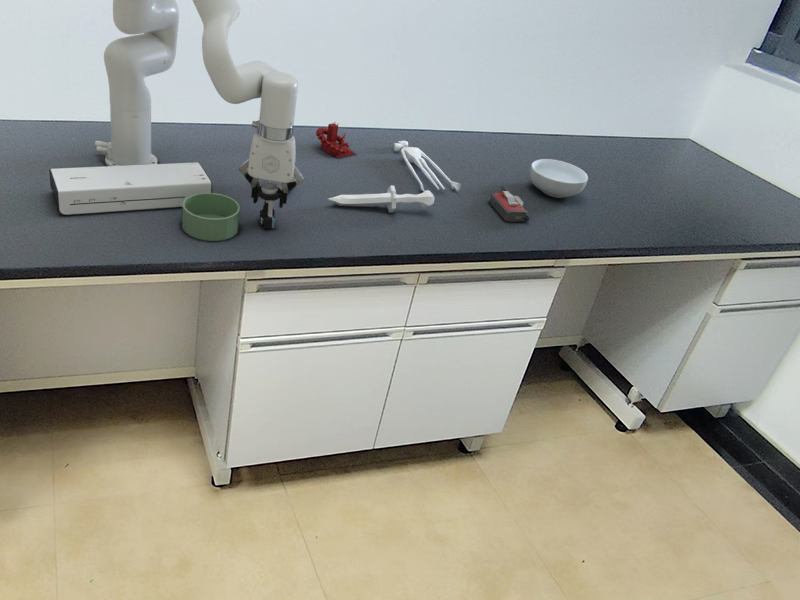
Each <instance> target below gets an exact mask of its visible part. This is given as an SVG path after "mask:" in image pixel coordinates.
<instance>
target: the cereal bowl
mask: <svg viewBox="0 0 800 600" xmlns="http://www.w3.org/2000/svg"><path fill="white" fill-rule="evenodd" d="M529 178H530V181H531V182H532V184H533V186H534V187H536V188H537V189H538V190H540V191H541V193H543V194H544V195H546V196H549V197H552V198H556V199H563V198H566V197H568V198H569V197H574V196H577V195H579V194H580V193H581V192H582V191H584V189H585V188H586V185H587V183H588V180H589V176H588V173H586V172H585V171H584V170H583V169H581V168H580V167H578V166H577V165H575V164H572V163H569V162H565V161H563V160H558V159H551V158H542V159H536V160H534V161H533V162H531V165H530V170H529Z"/></svg>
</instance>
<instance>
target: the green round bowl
mask: <svg viewBox="0 0 800 600" xmlns="http://www.w3.org/2000/svg"><path fill="white" fill-rule="evenodd" d="M240 215H241V207H240V203H238V201H237V200H235V199H234V198H232V197H230V196H229V195H225V194H222V193H216V192H212V193H198V194H194V195H191V196H189V197H187V198H186V199H184V201H183V203H182V207H181V228H182V231H184V233H186V234H187V235H188V236H190V237H192V238H193V239H197V240H201V241H207V242H219V241H225V240H229V239H231V238H233V237H235V236H236V235H237V234H238V232H239V229H240V217H241V216H240Z"/></svg>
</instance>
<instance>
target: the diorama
mask: <svg viewBox="0 0 800 600" xmlns="http://www.w3.org/2000/svg"><path fill="white" fill-rule="evenodd" d="M338 131H339V123H335V122H333V123H328V124H327V127H323V126H321V127H318V128H317V130H316V131H315V136H316V137H317V139H318V140H319V142H320V144H321V145H320V149H321V150H322V151H324V152H326V153H328V154H329V155H332V156H334V157H335V158H337V159H339V158H343V157H349V156H353V155H354V156H355V155H356V154H355V152H354V151H352V150H351V149H350V144H349V143H348V142H345V141H346V140H345V138H346V133H341V135H339V134H338ZM325 135H326V136H325Z"/></svg>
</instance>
